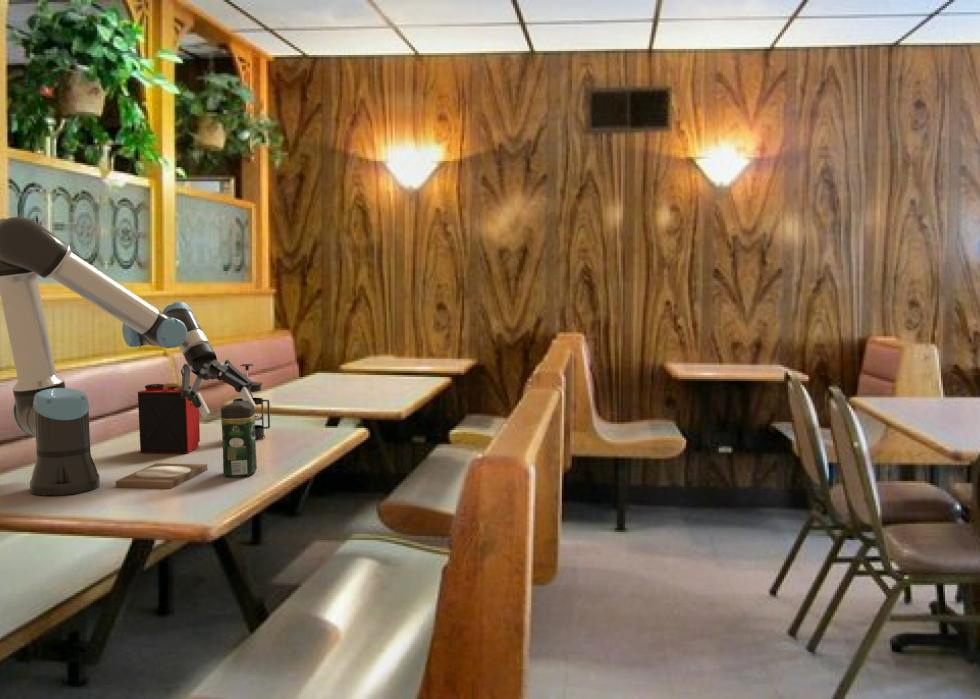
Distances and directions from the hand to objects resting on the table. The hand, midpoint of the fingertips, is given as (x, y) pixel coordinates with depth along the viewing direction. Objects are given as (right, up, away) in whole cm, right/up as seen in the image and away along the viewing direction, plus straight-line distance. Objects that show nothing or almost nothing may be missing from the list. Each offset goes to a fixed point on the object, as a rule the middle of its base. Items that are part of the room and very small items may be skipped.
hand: (230, 412), depth 235 cm
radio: (-25, -13, +27) cm, 40 cm away
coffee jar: (+4, -16, -4) cm, 16 cm away
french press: (-7, -11, +46) cm, 48 cm away
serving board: (-14, -16, -8) cm, 23 cm away
